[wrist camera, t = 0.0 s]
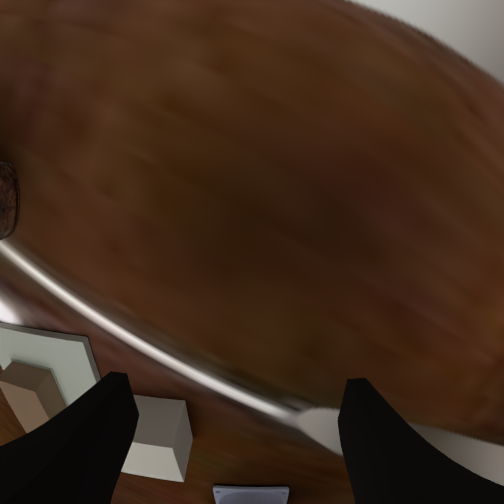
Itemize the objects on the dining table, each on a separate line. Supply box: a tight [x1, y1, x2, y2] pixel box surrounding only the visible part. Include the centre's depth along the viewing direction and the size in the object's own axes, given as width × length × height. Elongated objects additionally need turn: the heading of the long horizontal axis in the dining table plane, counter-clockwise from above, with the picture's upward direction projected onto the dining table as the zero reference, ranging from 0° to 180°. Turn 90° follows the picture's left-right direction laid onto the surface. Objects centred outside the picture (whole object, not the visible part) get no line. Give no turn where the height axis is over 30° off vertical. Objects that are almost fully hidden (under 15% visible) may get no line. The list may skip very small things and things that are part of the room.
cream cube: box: [122, 395, 193, 482], centre depth 21 cm, size 5×5×5 cm
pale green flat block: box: [0, 322, 136, 475], centre depth 22 cm, size 18×12×4 cm, turn 0°
